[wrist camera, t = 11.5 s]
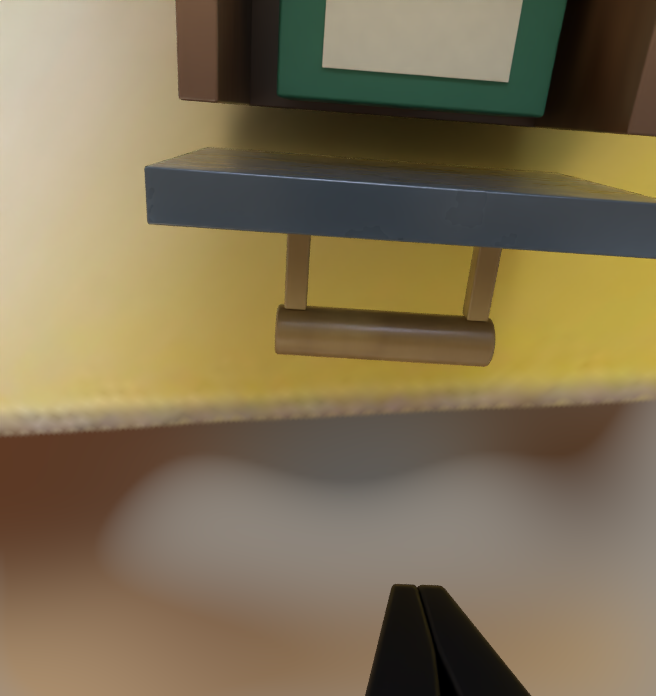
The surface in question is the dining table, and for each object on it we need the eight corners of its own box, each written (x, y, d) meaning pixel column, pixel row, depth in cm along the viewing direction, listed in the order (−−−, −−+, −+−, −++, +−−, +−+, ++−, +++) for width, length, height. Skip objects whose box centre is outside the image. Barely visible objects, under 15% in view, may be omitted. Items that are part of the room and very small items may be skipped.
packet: (535, -54, 15) (589, -97, 12) (504, 116, 16) (545, 118, 13) (291, -77, 15) (282, -126, 12) (284, 99, 16) (276, 96, 13)
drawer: (525, 319, 20) (617, 413, 14) (208, 299, 20) (156, 386, 13) (676, -362, 13) (993, -782, 7) (198, -415, 13) (82, -911, 7)
